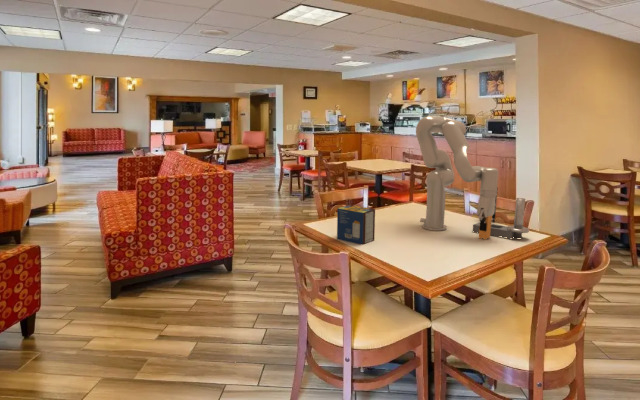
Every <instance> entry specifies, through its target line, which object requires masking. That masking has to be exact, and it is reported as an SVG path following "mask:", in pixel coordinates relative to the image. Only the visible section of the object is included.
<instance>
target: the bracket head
mask: <svg viewBox="0 0 640 400" xmlns="http://www.w3.org/2000/svg"><path fill="white" fill-rule="evenodd" d="M479 227H480V221H479V222H477V223H473V224H472V232H473V231H474V232H473V233H475V232H478V233H477V234H479ZM507 227H508V226H507V225H501V224H495V223H491V232H490V236H491V235H495V236H494V237H496V236H502V237H507V238H513V237H514V232H511V231H508V230H507Z"/></svg>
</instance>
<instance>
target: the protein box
mask: <svg viewBox="0 0 640 400" xmlns="http://www.w3.org/2000/svg"><path fill="white" fill-rule="evenodd" d="M336 213H337V218H336V219H337V220H336V224H337V225H336V227H337V228H336V239H337V240H339V241H344V242H348V243H354V244H357V245H361V244H362V245H365V244H368V243H370V242H373V241H375V229H376V228H375V227H376V225H375V224H376V223H375V222H376V209H375V208H369V207H364V206H357V205H352V204H351V205H350V204H348V205H346V206H345V205H344V206H341V207H337V212H336Z"/></svg>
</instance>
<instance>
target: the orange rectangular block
mask: <svg viewBox="0 0 640 400" xmlns="http://www.w3.org/2000/svg"><path fill="white" fill-rule="evenodd" d="M483 216H484V217H485V215H483ZM484 220H485V218H484ZM491 221H492V215H491V216H488V217H487V221H486V223H487V228H486V231H481V230H479V233H478V239H482V238H484V239H483V240H488V239H487V238H489V239H491V235H490V232H491V224H492V223H491ZM479 229H480V227H479Z"/></svg>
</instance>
